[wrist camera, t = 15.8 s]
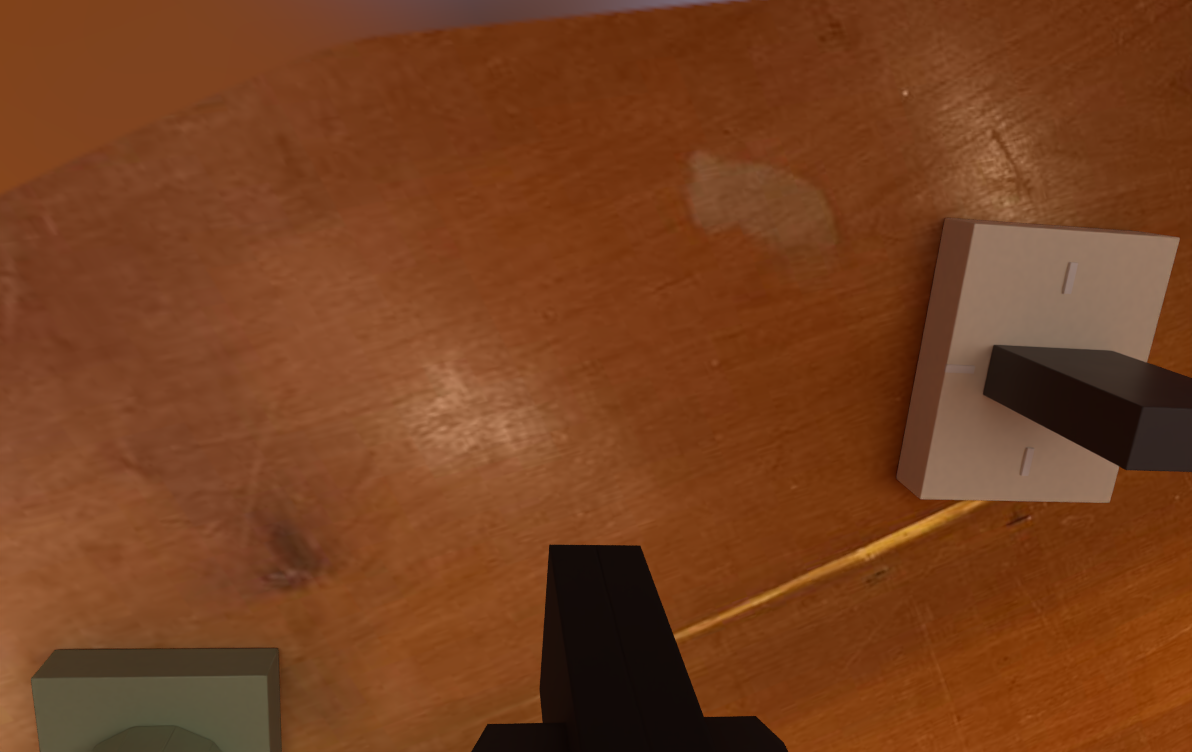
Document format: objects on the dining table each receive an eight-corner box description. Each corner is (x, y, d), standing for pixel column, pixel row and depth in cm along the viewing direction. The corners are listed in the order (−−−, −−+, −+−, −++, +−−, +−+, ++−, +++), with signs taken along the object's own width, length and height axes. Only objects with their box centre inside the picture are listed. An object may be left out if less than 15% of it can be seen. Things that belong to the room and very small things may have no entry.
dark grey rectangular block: (982, 394, 38) (1130, 473, 29) (993, 344, 37) (1148, 408, 29) (1100, 399, 39) (1278, 477, 30) (1112, 350, 38) (1298, 414, 29)
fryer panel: (942, 217, 38) (974, 223, 36) (1140, 231, 40) (1185, 238, 37) (893, 478, 42) (919, 501, 39) (1077, 482, 43) (1114, 504, 41)
